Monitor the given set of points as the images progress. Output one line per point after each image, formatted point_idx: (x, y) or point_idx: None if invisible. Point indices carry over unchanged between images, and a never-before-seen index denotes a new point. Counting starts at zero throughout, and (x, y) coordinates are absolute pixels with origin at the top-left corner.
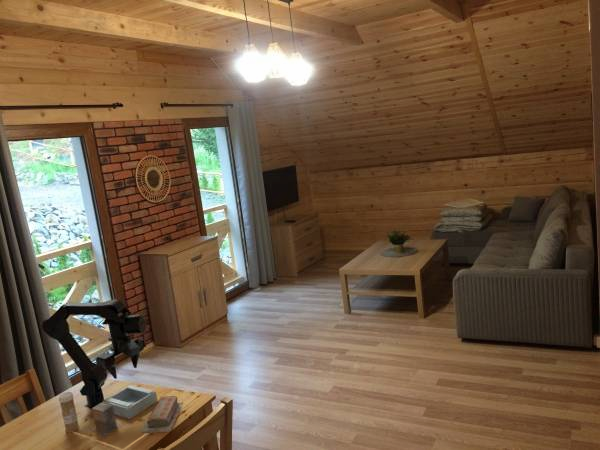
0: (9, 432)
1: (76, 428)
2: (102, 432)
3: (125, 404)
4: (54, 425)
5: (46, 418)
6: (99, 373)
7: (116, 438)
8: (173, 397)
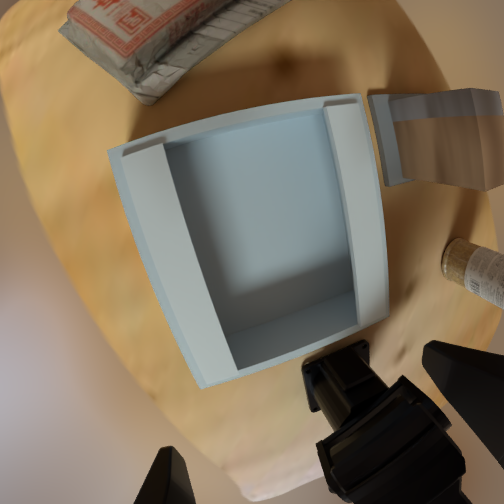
0: None
1: (457, 241)
2: None
3: (356, 141)
4: (451, 327)
5: None
6: (410, 465)
7: (403, 46)
8: (86, 3)
